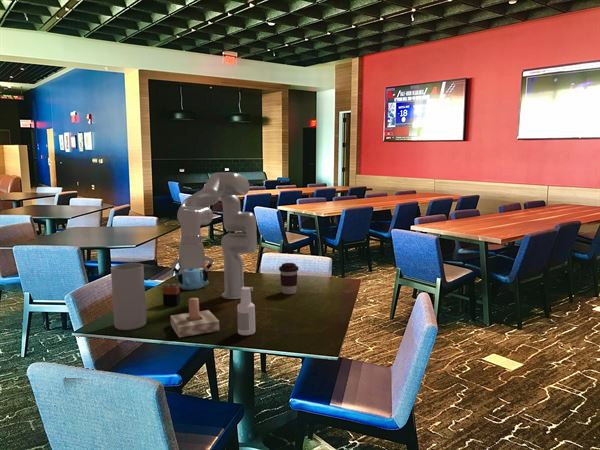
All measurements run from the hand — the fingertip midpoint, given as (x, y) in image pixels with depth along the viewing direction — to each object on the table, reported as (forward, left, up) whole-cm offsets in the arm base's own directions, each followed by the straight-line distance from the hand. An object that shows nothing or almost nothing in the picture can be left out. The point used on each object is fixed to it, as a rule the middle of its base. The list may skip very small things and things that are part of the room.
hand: (193, 282), depth 191 cm
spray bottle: (-17, +15, -19) cm, 30 cm away
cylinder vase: (+23, -15, -19) cm, 34 cm away
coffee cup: (-56, -30, -19) cm, 66 cm away
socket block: (0, 0, -19) cm, 19 cm away
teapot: (-14, -65, -19) cm, 69 cm away
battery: (+2, -37, -19) cm, 41 cm away
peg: (0, 0, -19) cm, 19 cm away
